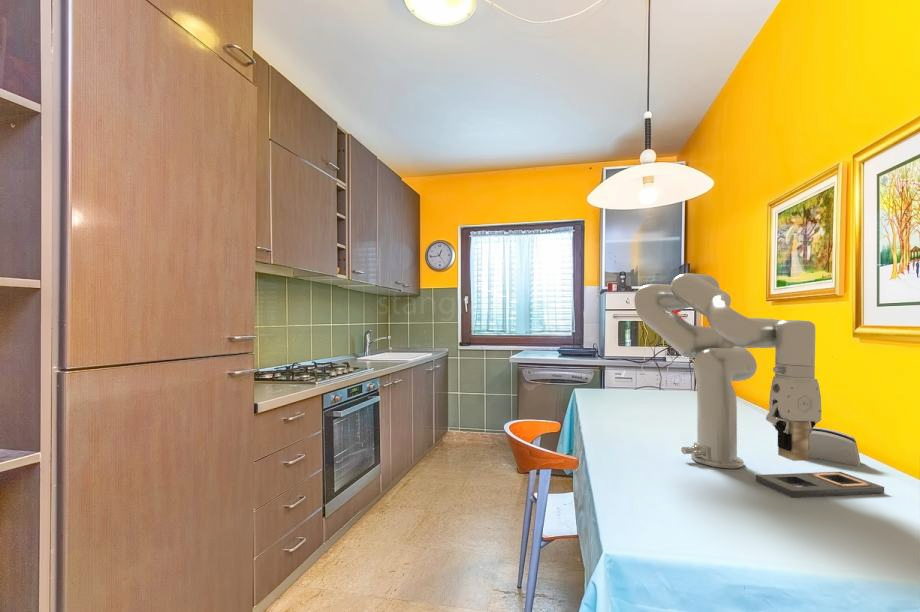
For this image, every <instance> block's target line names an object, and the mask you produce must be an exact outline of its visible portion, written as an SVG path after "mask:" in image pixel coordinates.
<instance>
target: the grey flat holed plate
mask: <svg viewBox="0 0 920 612" xmlns="http://www.w3.org/2000/svg"><path fill="white" fill-rule="evenodd" d="M755 482H757V483H758V484H762V485H764V486H765V487H768V488H770V489H772V490H774V491H777V492H779V493H781V494H783V495H784V496H788V497H790V498H792V499H795V498H796V499H798V498H815V497H816V498H817V497H819V498H820V497H821V498H822V497H838V496H839V497H840V496H843V497H844V496H858V495H859V496H862V495H880V494H881V495H882V494H885V486H883V485H879V484H877V483H874V482H871V481H867V480H866V479H862V478H859V477H857V476H855V475H851V474H848V473H845V472H843V471H824V472H797V473H774V474H771V473H770V474H755ZM793 484H797V485H800V486H795V485H793Z"/></svg>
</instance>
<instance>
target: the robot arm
mask: <svg viewBox="0 0 920 612" xmlns="http://www.w3.org/2000/svg"><path fill="white" fill-rule="evenodd" d="M731 303H732V299H731V295H730V294H729V293H728V292H726V291H724V290H722V289H720V284H719V282H718V280H717V279H716V278H715V277H713V276H711V275H709V274H705V273H704V274H701V273H690V272H687V273H681V274H679V275H677V276H675V277H674V278H673V279H672V280H671V283H670V284H664V283H663V284H662V283H649V284H645V285H643V286H641V287H639V288H638V289H637V290H636V292H635V294H634V308H635V311H636V313H637V315H638V317H639V319H640V320H641V321H642V322H643V323H644V324H645V325H646V326H647V327H648V328H650V329H651V330H652V331H654V332H655V334H657V335H659V336H660V338H661V339H662V340H664V341H665V342H666V343H667V344H668V345H669V346H671V348H672V349H674V350H675V351H676V352H677V353H678V354H680V355H681V356H683V357H686V358H694V360H693V365H692V366H693V372H694V377H695V382H696V393H697V394H696V396H697V397H696V398H697V399H696V402H697V409H696V412H697V418H696V419H697V420H696V421H697V429H696V430H697V433H696V434H697V435H696V436H697V437H696V440H697V441H695V442H693V445H691V446H682V447H681V450H680V451H681V453H682V454H683V455H690V454H691V455H690V457H691V459H692V460H693V461H695V462H697V463H699V464H701V465H706V466H708V467H709V466H710V467H713V468H719V469H720V468H722V469H740V468H742V467H743V466H745V463H744V462H745V461H744V460H743V458H741V457H738V428H737V427H738V418H737V417H738V410H737V409H738V407H737V406H738V405H737V403H738V402H737V401H738V400H737V396H736V391H735V388H734V386H733V384H732V382H742V381H745V380H749V379H752V377H753V376H755V374H756V372H757V368H758V366H757V361H756V359H755V356H754V355H753V354H752V353H751V351H749V350H748V349H756V348H759V349H772V348H773V349H775V354H774V356H775V357H774V358H775V359H774V361H775V363H774V367H773V368H772V371H773V372H774V376H773V377H772V381H771V385H770V392H769V401H768V402H769V404H768V408H769V411H768V413H767V415H766V417H765V420H766V421H767V422H769V424H771V425H772V426H773V427H774V429H775V430H776V431H777V447H779V448H782V449H785V450H787V451H791V442H792V434H790V433H789V432H790V427H791V422H809V433H812V428H813V427H816V424H818V423H819V422H821V421H822V397H821V396H822V394H821V390H820V384H819V381H818V379H817V378H816V377H815V376H816V374H815V373H816V371H815V370H816V326H815V323H813V322H812V321H809V320H803V319H802V320H801V319H800V320H799V319H788V320H787V319H786V320H785V319H784V320H783V319H781V320H779V319H774V318H763V317H762V318H761V317H759V318H758V317H746V316H745V315H743V314H741V313H740V312H738V311H736V310H734V309H733V308H731V307H730V305H731ZM688 308H692V309H694V310H695V311H696V312H698V313H699V314H701V315H702V316H703V317H706V321H707V323H708V324H709V326H706V325H705V326H702V325H701V326H699V325H694V324H691V323H689V322H687V321H686V320H684V318H682V317H681V316H680V315H678V314H677V313H675V312H673V311H679V310H683V309H688ZM783 418H784V419H783ZM783 421H784V422H785V423H784V425H783V424H782V423H783ZM808 450H809V447H808Z"/></svg>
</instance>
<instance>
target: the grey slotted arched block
mask: <svg viewBox="0 0 920 612" xmlns="http://www.w3.org/2000/svg"><path fill="white" fill-rule="evenodd" d="M812 457H813V458H812ZM808 458H812V459H817V458H819V460H823V459H824V461H828V460H830V461H829V462H834V461H836V462H835V463H839V462H841V464H845V463H846V464H845V465H850V464H853V465H852V466H856V465H860V466H861V459H860V453H859V449H858V443H857V441H856V439H855V437H854V436H852V435H849V434H847V433H844V432H841V431H837V430H835V429H829V428H823V427H817V426H814V427H813V428H812V433H809V450H808Z"/></svg>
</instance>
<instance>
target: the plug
mask: <svg viewBox="0 0 920 612" xmlns="http://www.w3.org/2000/svg"><path fill="white" fill-rule="evenodd" d="M783 419H784V418H783ZM784 423H785V422H784V421H783V423H782V424H783V425H784ZM789 433H790V434H792V442H791V451H787V450H785V449H782V448H779V447H778V446H777V447H778V448H777V449H778V450H777V453H778V454H777V455H778V456H780V457H782V458H784V459H787V460H790V461H792V462H793V461H794V462H797V461H798V462H800V461H801V462H802V461H809V457H808V447H809V422H791V427H790V432H789Z"/></svg>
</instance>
